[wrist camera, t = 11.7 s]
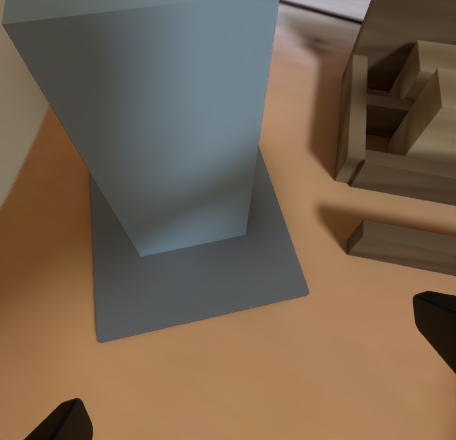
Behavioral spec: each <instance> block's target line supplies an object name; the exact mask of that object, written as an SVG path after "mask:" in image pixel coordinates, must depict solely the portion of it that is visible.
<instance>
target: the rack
mask: <svg viewBox="0 0 456 440" xmlns="http://www.w3.org/2000/svg"><path fill="white" fill-rule="evenodd" d="M417 40H420V41H428V42H435V43H442V44H450V45H456V0H371V2H370V4H369V7H368V10H367V12H366V15H365V18H364V20H363V23H362V26H361V28H360V31H359V34H358V36H357V39H356V42H355V44H354V47H353V50H352V52H351V55H350V58H349V60H348V63H347V66H346V68H345V71H344V73H343V81H342V94H341V107H340V121H339V134H338V147H337V161H336V174H335V181H340V182H345V183H350V187H355V188H361V189H366V190H372V191H378V192H383V193H389V194H394V195H400V196H405V197H411V198H416V199H422V200H427V201H433V202H438V203H444V204H449V205H455V206H456V165H454V164H448V163H442V162H437V161H431V160H425V159H419V158H413V157H407V156H401V155H396V154H390V153H384V152H378V151H372V150H366V149H365V145H366V134H372V135H378V136H384V137H390V138H392V136H393V135H394V133H395V132H396V130H397V129H398V127H399V126H400V124H401V123H402V121H403V120H404V118H405V116H406V115H407V113H408V112H409V110H410V109H411V107H412V106H413V104H414V103H415V101H412V100H406V99H399V98H393V97H386V96H380V95H374V94H367V87H368V88H374V89H381V90H387V91H390V90H391V88H392V86H393V84H394V82H395V80H396V79H397V77H398V75H399V73H400V71H401V69H402V68H403V66H404V64H405V62H406V60H407V59H408V57H409V55H410V53H411V51H412V49H413V48H414V46H415V44H416V42H417ZM347 255H352V256H357V257H362V258H367V259H373V260H378V261H383V262H388V263H393V264H398V265H403V266H408V267H413V268H418V269H423V270H428V271H433V272H438V273H443V274H448V275H453V276H456V237H455V236H449V235H444V234H439V233H433V232H428V231H423V230H417V229H412V228H407V227H402V226H396V225H391V224H386V223H380V222H375V221H370V220H363V221H362V222H361V223H360V225H359V226H358V227H357V228H356V229H355V231H354V232H353V233H352V234H351V236H350V237H349V238H348V245H347Z"/></svg>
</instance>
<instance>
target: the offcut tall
mask: <svg viewBox="0 0 456 440" xmlns="http://www.w3.org/2000/svg"><path fill="white" fill-rule="evenodd" d="M389 153H390V154H396V155H401V156H407V157H413V158H419V159H425V160H431V161H437V162H442V163H448V164H454V165H456V70H450V69H443V68H437V69H436V71H435V72H434V74H433V75H432V77H431V78H430V80H429V81H428V83H427V84H426V86H425V87H424V89H423V91H422V92H421V94H420V95H419V97H418V98H417V100H416V101H415V103H414V104H413V106H412V107H411V109H410V110H409V112H408V113H407V115H406V116H405V118H404V120H403V121H402V123H401V124H400V126H399V127H398V129H397V130H396V132H395V133H394V135H393V136H392V138H391V139H390V141H389Z"/></svg>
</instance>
